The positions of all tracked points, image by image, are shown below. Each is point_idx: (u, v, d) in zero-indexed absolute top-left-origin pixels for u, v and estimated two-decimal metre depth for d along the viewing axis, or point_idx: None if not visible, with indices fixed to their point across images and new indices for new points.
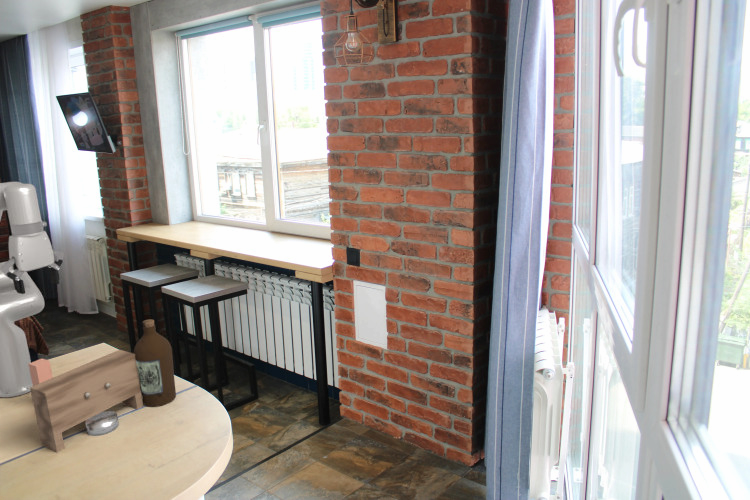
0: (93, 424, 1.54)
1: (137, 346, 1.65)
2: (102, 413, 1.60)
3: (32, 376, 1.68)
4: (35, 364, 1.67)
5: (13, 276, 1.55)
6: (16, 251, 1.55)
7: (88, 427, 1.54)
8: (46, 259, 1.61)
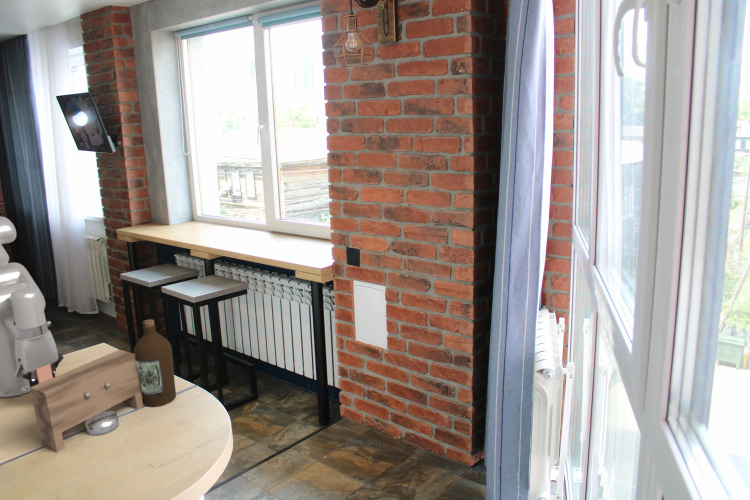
0: (92, 424, 1.54)
1: (137, 346, 1.65)
2: (102, 413, 1.60)
3: None
4: None
5: (28, 379, 1.65)
6: (22, 354, 1.62)
7: (87, 427, 1.54)
8: (50, 357, 1.69)
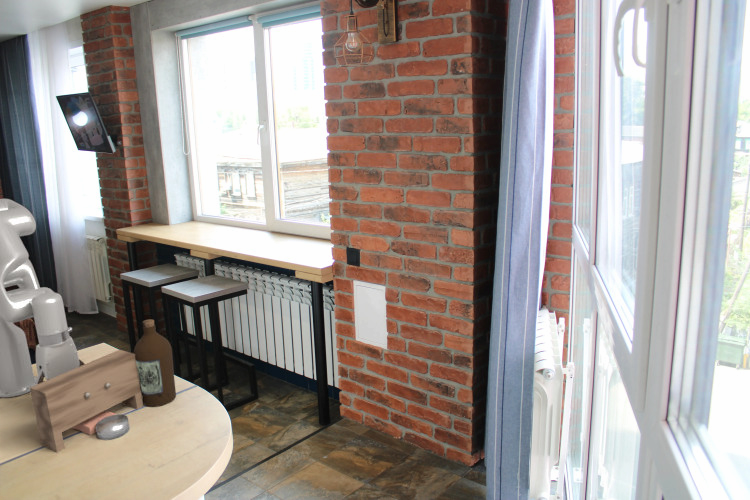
0: (102, 427, 1.52)
1: (137, 346, 1.65)
2: (113, 416, 1.57)
3: None
4: None
5: None
6: (43, 361, 1.57)
7: (98, 430, 1.52)
8: (72, 365, 1.63)
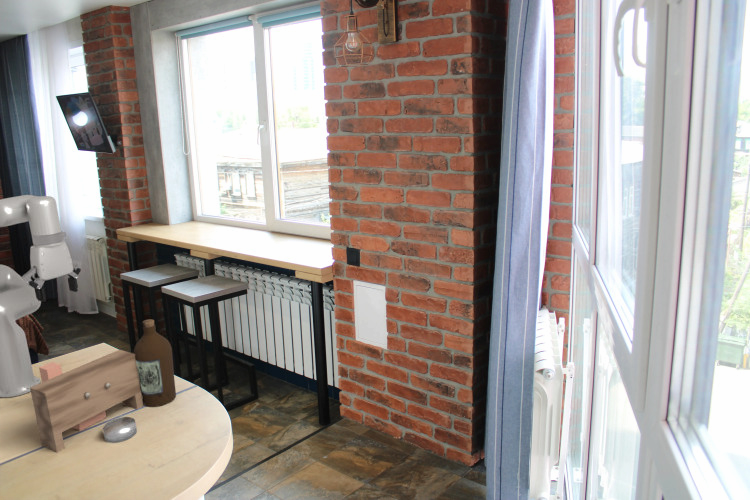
0: (109, 430, 1.51)
1: (137, 346, 1.65)
2: (122, 419, 1.56)
3: (43, 380, 1.65)
4: (46, 368, 1.64)
5: (34, 285, 1.62)
6: (37, 261, 1.61)
7: (104, 433, 1.50)
8: (65, 268, 1.68)
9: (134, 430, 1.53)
